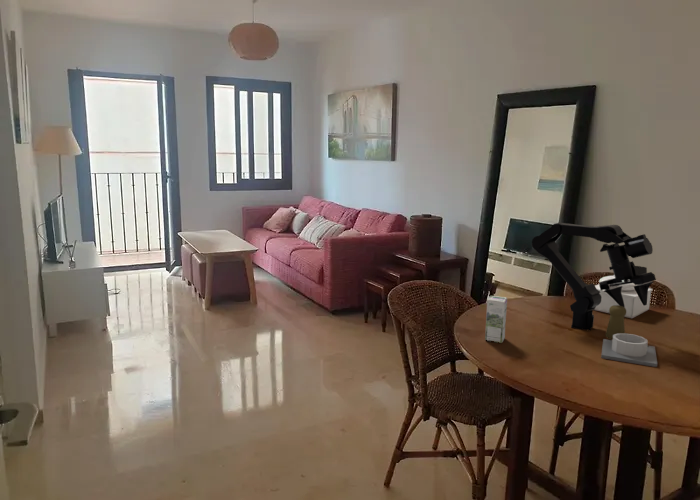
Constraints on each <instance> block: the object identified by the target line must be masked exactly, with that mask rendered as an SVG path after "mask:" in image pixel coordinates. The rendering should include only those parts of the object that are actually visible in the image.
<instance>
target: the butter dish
mask: <svg viewBox="0 0 700 500" xmlns="http://www.w3.org/2000/svg"><path fill="white" fill-rule="evenodd" d="M614 278H615V275H614V274H613V275H607V276H603V277H601V278H600V279H599V283H598V284H595V285H594V286H595V287H596V289H597V290H598V291H600V293H599V294H600V295H601V297H602V298H601V303H600V304H599V305H598V306H596V308H595V309H594V310H593V311H598V312H602V313H607V314H610V312H609V309H610V307H611V306H613V305H618V303H617V302H616V301H615V300H614V299H613V298H612V297H611V296H610V295H609V294H607V293H606V292H604V291H605V290H601V289H600V286H599V284H600V282H602V281H606V280H609V279H614ZM629 280H630V279H629ZM622 282H624V280H622ZM620 286H622V289H621V294H622V298H623V301H624V306H625V309H626V315H625V316H624V318H629V319H633V318H636V317H637V316H640V315H641V314H643V313H645V312H647V311H648V310H650V303H651V297H652V296H651V293H652V292H653V288H650V287H649V288H648V295H647V305H645V306H644V305H643V304H642V302H641V300H640V298H639V296H638V294H637V292H636V291H635V289H634V286H636V285H635V284H634V283H630V284H623V285H619V286H618V287H620Z"/></svg>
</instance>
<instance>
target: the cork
mask: <svg viewBox="0 0 700 500" xmlns="http://www.w3.org/2000/svg"><path fill="white" fill-rule="evenodd" d="M609 312H610V313H609V314H610V316H609V320H608V324H607V328H606V331H605V334H604V336H605V337H606V339H608V340H613V335H614V334H617V333H626V331H625V317H624V316H625V315H626V309H625V307H623V306H619V305H613V306H611V307H610V309H609Z"/></svg>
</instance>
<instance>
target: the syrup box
mask: <svg viewBox="0 0 700 500" xmlns="http://www.w3.org/2000/svg"><path fill="white" fill-rule="evenodd" d="M507 306H508V297H505V296H498V295H495V296H494V295H489V296H488V298H487V300H486V316H485V318H486V319H485V333H484V335H485V336H484V341H485V340H487V342H491V341H494V342H493V343H498V342H499V344H502V343H503V342H504V340H505V337H506V320H507V310H508V309H507V308H508V307H507Z"/></svg>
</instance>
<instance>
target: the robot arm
mask: <svg viewBox="0 0 700 500" xmlns="http://www.w3.org/2000/svg"><path fill="white" fill-rule="evenodd" d="M562 235H567V236H575V237H583V238H584V237H585V238H591V239H593V240H596V241H598V242H600V243H601V242H602V243H603V244H602V247H601V248H600V250H599V252H600V253H603V252H607V253H606V254H607V256H608V259H609V262H610V266H609V267H608V268H609V271H612V272H613V276H614V275H615V278H614V279H609V280H606V281H602V282H599V283H598V284H599V286H600V289H601V290H605V291H604V292H606V293H607V294H609V295H610V296H611V297H612V298H613V299H614V300H615V301H616V302H617V303H618V305H619V306H623V307H625V306H624V301H623V298H622V294H621V289H622V286H620V287H618V286H619V285H623V284H630V283H634V284H635V285H636V286H634V289H635V291H636V292H637V294H638V296H639V298H640V300H641V302H642V304H643V305H644V306H645V305H647V295H648V288H650V287H651V285H652V284H654V281H656V280H657V278H656V275H655V273H653V272H652V271H649V272H648V268H647V266H640V265H635V262H634V261H630V258H632V259H636V258H640V257H644V256H650V255H652V254H653V252H654V251H653V245H652V242H650V240H649V238H648V237H647V236H646V234H644V233H643V234H640V235H637V236H635V237H631V236H630V235H628V234H627V233H625V232H624V230H623V228H622V227H621V226H620V225H619V224H606V225H596V226H594V225H584V224H573V223H566V222H556V223H554V224H552V226H550V227H549V228H548V229H546V230H545V231H543V232H542V233H540V234H538V235H536V236H534V237H533V238H532V241H531V246H532V247H531V248H532V249H533V250H534V251H536V252H537V253H538V255H541V256H542V257H544V258H545V259H547V260H548V262H549V263H551V265H552V266H553V268H555V270H556V271H557V273H558V274H559V275H560V276H561V278H562V279H563V280H564V282H566V284H568V286H569V287H570V288H571V290H572V293H573V297H574V299H575V300H576V301H575V302H572V304H570V305H569V306H570V307H569V308H570V310H571V312H572V321H571V328H572V329H578V330H585V331H591V330H592V328H593V327H594V321H595V320H594V319H595V315H594V314H593V313H594V311H595V310H594V309H595V308H596V306H598V305H599V304H600V303H601V298H602V297H601V295H600V294H599V293H600V291H598V290H597V289H596V287H595V286H596V285H595V284H594V283H590V284H588V283H586V282H584V281H583V279H582V278H581V277H580V275H578V273H577V272H576V271H575V270H574V268H573V267H572V266H571V265H570V264H569V262H568V261H567V260H566V258H565V257H564V256H563V255H562V254H561V253H560V251H559V247H558V243H557V241H558V240H559V239H560V237H562ZM611 243H612V244H611ZM623 243H624V244H623ZM620 244H621V245H620ZM629 257H630V258H629ZM629 279H630V280H629ZM622 280H624V282H622Z"/></svg>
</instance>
